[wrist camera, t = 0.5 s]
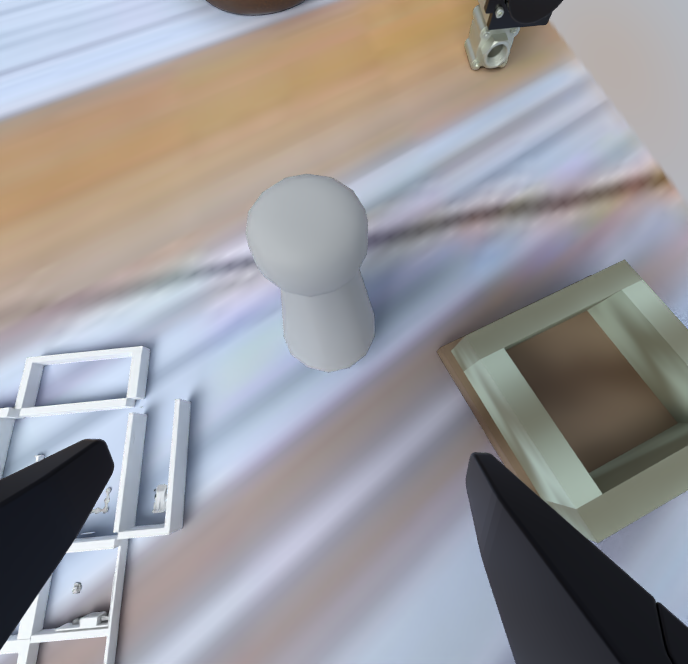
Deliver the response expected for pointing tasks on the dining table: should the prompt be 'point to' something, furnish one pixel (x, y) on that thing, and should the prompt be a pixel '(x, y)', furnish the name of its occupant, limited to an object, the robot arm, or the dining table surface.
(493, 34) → the pneumatic valve
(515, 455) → the holder
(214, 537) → the dining table surface
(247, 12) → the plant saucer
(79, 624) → the floor plan model
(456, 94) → the dining table surface
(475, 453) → the robot arm
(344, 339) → the grey round-headed cylinder
